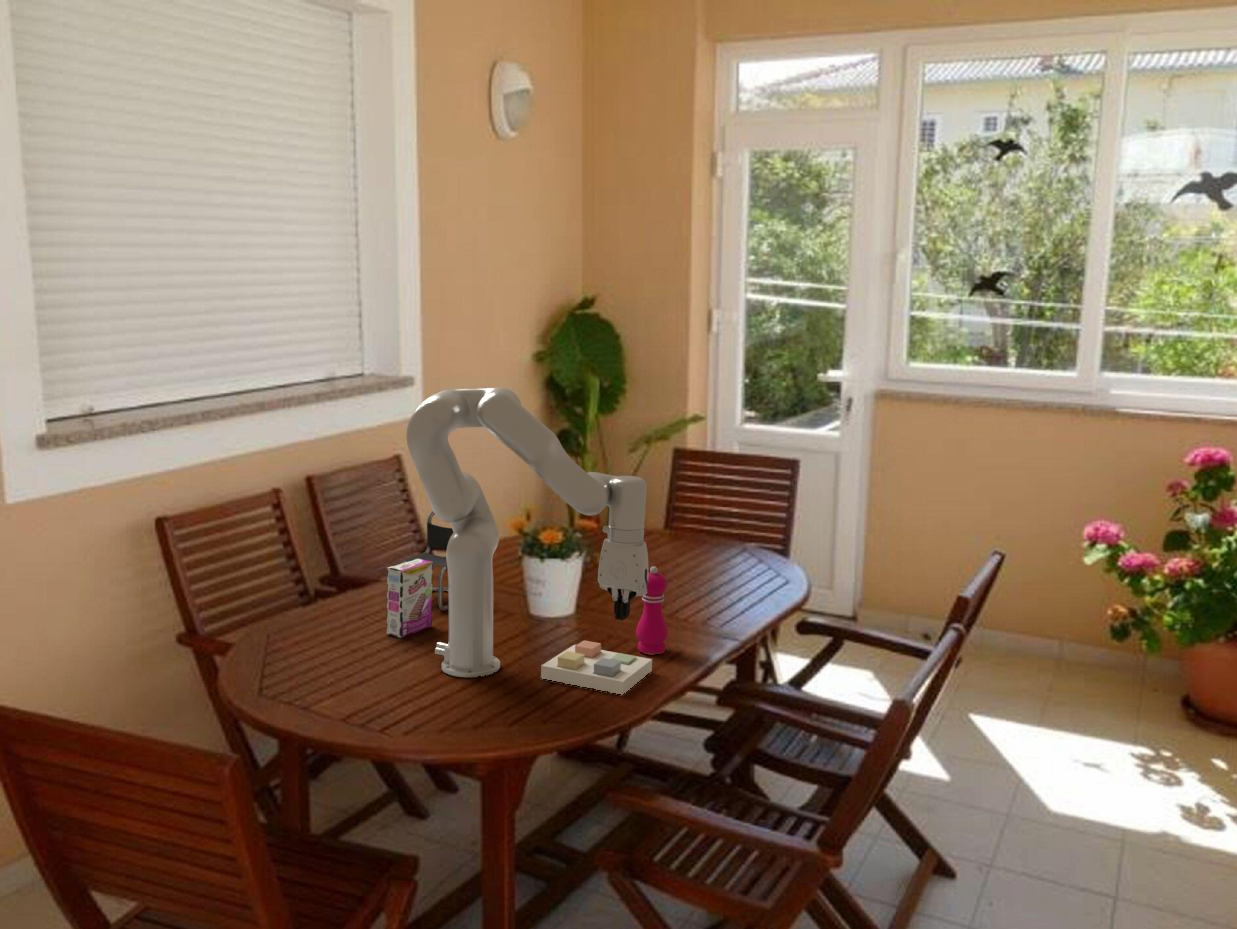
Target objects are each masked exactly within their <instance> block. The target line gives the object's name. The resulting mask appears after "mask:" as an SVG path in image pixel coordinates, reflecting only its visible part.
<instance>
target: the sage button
mask: <svg viewBox="0 0 1237 929" xmlns="http://www.w3.org/2000/svg"><path fill="white" fill-rule="evenodd" d="M617 653H618V654H616V655H615V656H614V657H612V658H611V659H612V660H617V661H621V664H624V665H630V664H631V663H633V662H634V661H635V660H636V656H637V655H632V654H626V653H621V652H617Z"/></svg>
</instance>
